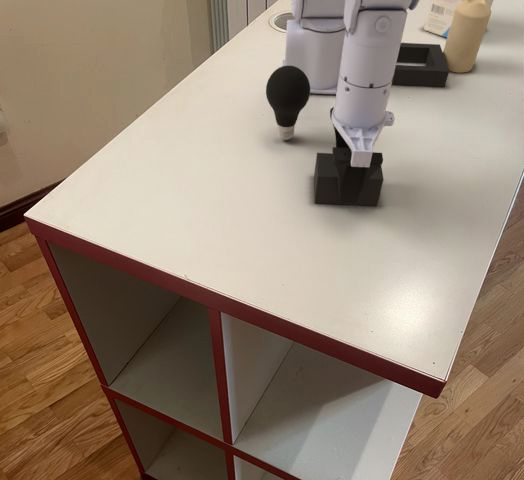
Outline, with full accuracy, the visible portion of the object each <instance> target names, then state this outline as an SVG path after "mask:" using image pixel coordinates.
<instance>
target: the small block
mask: <svg viewBox="0 0 524 480" xmlns="http://www.w3.org/2000/svg"><path fill="white" fill-rule="evenodd" d="M338 181H339V178H338V172H337V169H336V167H335V164H334V161H333V152H332V153H330V152H316V157H315V165H314V174H313V201H314V202H313V203H314V204H325V205H326V204H327V205H328V204H329V205H346V206H347V205H348V206H369V207H378V203H379V199H380V196H381V191H382V188H383V183H384V173H383V167H382V166H381V167H380V168H379V169H378V170H377V171H376V172H375V173H374V174H373V175H372V176H371V177H370V178H369V180H368V181H367V183H366V185H365V187H364V189H363V191H362V193H361V195H360V197H359V198H358V200H357V202H356V203H344V202H340V200H339V188H338Z"/></svg>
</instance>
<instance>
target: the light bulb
mask: <svg viewBox="0 0 524 480" xmlns="http://www.w3.org/2000/svg"><path fill="white" fill-rule="evenodd" d="M265 88H266V89H265V95H266V96H265V97H266V100H267V103H268V104H269V106H270V108H272V110H273V112H274V117H275V122H276V125H277V126H276V136H277V137H278V138H279V139H281V140H282V141H284V142H286V141H289V140H291V139H292V138H293V137H294V135H295V127H296V126H295V125H296V123H297V121H298V118H299V114H300V113H301V111H302V110H303V109H304V108H305V107H306V105H307V104H308V102H309V99H310V95H311V93H310V83H309V80H308V78H307V76H306V75H305V73H304V72H303V71H302V70H300V69H299V68H297V67H295V66H280V67H278V68H276V69H275V70H274V71H273V72H272V73H271V74H270V76H269V78H268V79H267V82H266V85H265Z"/></svg>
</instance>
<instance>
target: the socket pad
mask: <svg viewBox="0 0 524 480" xmlns="http://www.w3.org/2000/svg"><path fill="white" fill-rule="evenodd" d="M396 63H415V64H425V65H408V64H407V65H406V64H396V67H395V71H394V76H393V80H392V85H391V86H409V87H410V86H413V87H432V88H445V87H446V84H447V80H448V78H449V74H450V71H449V69H448V66H447V63H446V61H445V58H444V55H443V50H442V47H441V44H439V43H438V44H437V43H436V44H435V43H418V42H417V43H415V42H414V43H413V42H401V45H400V49H399V53H398V58H397V62H396Z"/></svg>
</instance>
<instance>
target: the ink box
mask: <svg viewBox="0 0 524 480" xmlns="http://www.w3.org/2000/svg"><path fill="white" fill-rule="evenodd" d="M462 1H464V0H430V2H429V7H428V10H427V15H426V18H425V23H424V27H423V30H424V31H426V32H429V33H431V34H434V35H436V36H437V35H438V36H441V37H443V38H446V39H447V37H448V33H449V30H450V26H451V23H452V20H453V16H454V13H455V9H456V6H457V5H458V4H460V3H461V2H462ZM485 1H486V3H487V4H488V5H489V7H490V9H491V8H492V6H493V2H494V0H485ZM491 10H492V9H491Z"/></svg>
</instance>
